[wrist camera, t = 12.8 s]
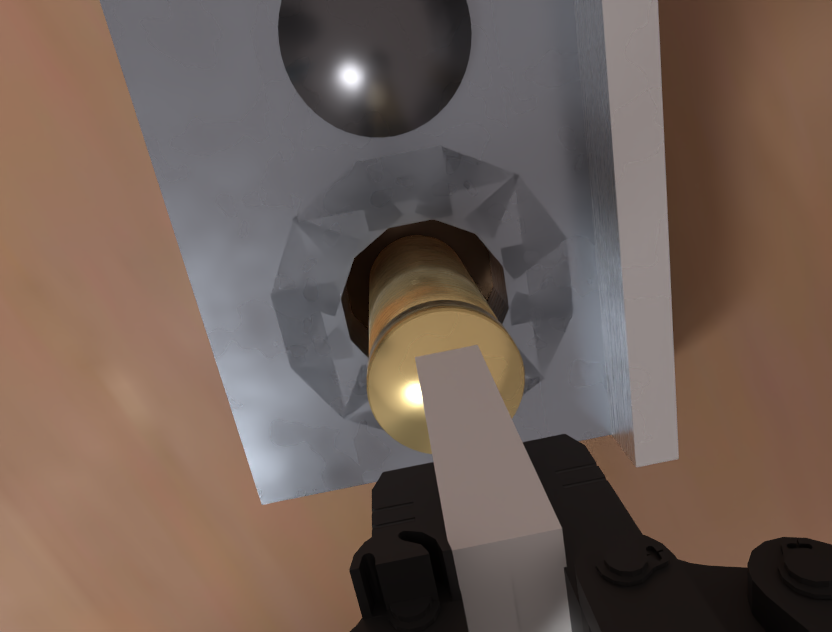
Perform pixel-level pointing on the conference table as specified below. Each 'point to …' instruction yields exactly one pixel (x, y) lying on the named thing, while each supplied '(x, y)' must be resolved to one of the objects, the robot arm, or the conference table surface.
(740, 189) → the conference table surface
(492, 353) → the cylinder
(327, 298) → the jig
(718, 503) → the conference table surface
